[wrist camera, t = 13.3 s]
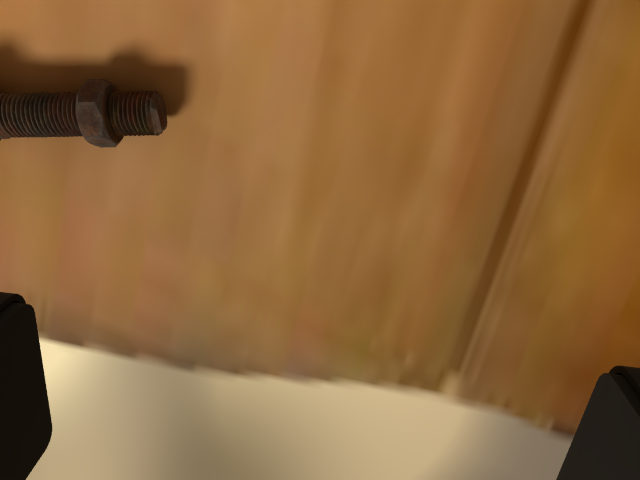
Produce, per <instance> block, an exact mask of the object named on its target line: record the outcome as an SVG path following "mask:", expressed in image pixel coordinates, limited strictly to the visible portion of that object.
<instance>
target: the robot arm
mask: <svg viewBox="0 0 640 480" xmlns="http://www.w3.org/2000/svg"><path fill="white" fill-rule="evenodd" d="M51 435H52V423H51V415H50V409H49V402H48V396H47V390H46V383H45V376H44V369H43V363H42V357H41V350H40V343H39V337H38V330H37V324H36V317H35V312H34V309H33V307H32V306H31V305H29V304H26V302H25V300H24V298H23V297H22V296H21V295H19V294H12V293H4V292H0V480H26V478H27V477H28V475H29V474H30V472H31V471H32V469H33V468H34V466H35V465H36V463H37V462H38V460H39V459H40V457H41V456H42V454H43V453H44V452H45V450H46V448H47V446H48V444H49V442H50V438H51ZM556 480H640V368H635V367H626V366H615V367H614V368H612V369H611V370H610V372H609V373H604V374H602V375H601V376H600V377H599V379H598V381H597V383H596V385H595V388H594V390H593V393H592V395H591V397H590V400H589V402H588V405H587V407H586V410H585V412H584V414H583V417H582V419H581V422H580V424H579V426H578V429H577V431H576V434H575V436H574V438H573V441H572V443H571V446H570V448H569V451H568V453H567V455H566V458H565V460H564V462H563V465H562V467H561V470H560V472H559V475H558V477H557V479H556Z"/></svg>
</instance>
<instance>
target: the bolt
mask: <svg viewBox="0 0 640 480" xmlns="http://www.w3.org/2000/svg"><path fill="white" fill-rule="evenodd" d="M166 127H167V116H166V108H165V104H164V101H163V99H162V97H161V95H159V94H158V93H157V91H154V92H152V91H149V92H148V91H146V92H143V91H141V92H139V91H137V92H134V91H133V92H129V91H128V92H125V91H124V92H119V90H118V89H117V87H115V86H114V85H113V84H111V83H110V82H108V81H106V80H103V79H88V80H87V81H86V82H85V83H84V84H83V85H82V86H81V87H80V89H79V90H78V92H77V93H76V92H72V93H71V92H68V93H66V92H63V93H60V92H59V93H3V92H0V140H1V139H9V138H11V137H61V136H62V137H70V136H71V137H72V136H83V137H84V138H85V140H86V141H87V142H89V143H90V144H93V145H95V146H98V147H116V146H117V145H118V144H119V142H120V141H121V140H122V139H123V137H124V136H127V135H129V136H132V135H134V136H136V135H138V136H140V135H143V136H144V135H156V136H158V135H159V134H162V132H163V131H162V130H165V129H166Z"/></svg>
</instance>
